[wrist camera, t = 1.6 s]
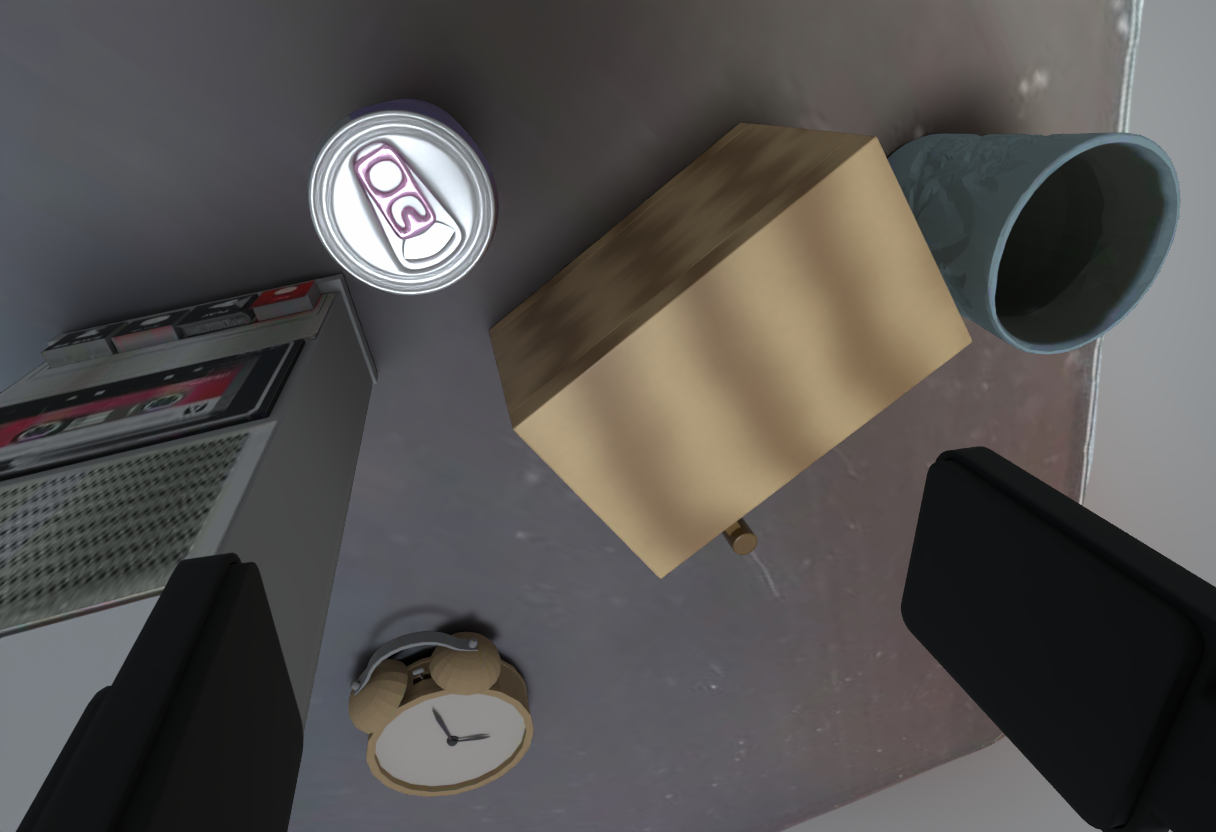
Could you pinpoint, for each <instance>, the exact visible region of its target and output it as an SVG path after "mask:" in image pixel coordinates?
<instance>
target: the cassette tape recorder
mask: <svg viewBox="0 0 1216 832" xmlns="http://www.w3.org/2000/svg"><path fill="white" fill-rule="evenodd" d="M48 344H49V346H50V347H48V348H47V349H45V350H44V351H42V352H41V353H42V355H43V356H44V358H45V360H46V361H45V362H44V363H42V364H41V365H40V366H38V367H37V368H35V369H34V370H32V371H31V372H29V373H28V374H27V375H25V376H24V377H22V378H21V379H19V380H18V381H17V382H15V383H14V384H12V385H11V386H9V387H8V388H7V389H5V390H4V391H2V392H1V393H0V832H16V830H17V828H18V827H19V825H20V823H21V821H22V820H23V818H24V816H25V814H26V813H27V811H28V809H29V807H30V806H31V804H32V802H33V800H34V798H35V797H36V795H37V793H38V791H39V790H40V788H41V786H42V784H43V783H44V781H45V779H46V777H47V776H48V774H49V772H50V770H51V768H52V767H53V765H54V763H55V761H56V760H57V758H58V756H59V754H60V753H61V751H62V749H63V747H64V745H65V744H66V742H67V740H68V738H69V737H70V735H71V733H72V731H73V730H74V728H75V726H76V724H77V723H78V721H79V719H80V717H81V715H82V714H83V712H84V710H85V708H86V707H87V705H88V703H89V702H90V701H91V699H92V698H93V697H94V695H95V694H96V693H97V692H98V691H100V690H101V689H103V688H104V687H106V686H111V685H112V683H113V681H114V680H115V678H116V676H117V674H118V672H119V670H120V669H121V667H122V665H123V663H124V661H125V659H126V657H127V656H128V654H129V652H130V650H131V648H132V646H133V645H134V643H135V641H136V639H137V637H138V635H139V634H140V632H141V630H142V628H143V626H144V624H145V623H146V621H147V619H148V617H149V615H150V613H151V612H152V610H153V608H154V606H155V604H156V602H157V601H158V599H159V597H160V595H161V593H162V591H163V589H164V588H165V586H166V584H167V582H168V580H169V578H170V577H171V575H172V573H173V571H174V569H175V567H176V566H177V565H178V563H179V562H180V561H182V560H184V559H191V558H198V557H205V556H212V555H219V554H226V553H235V554H237V555H238V556H239V558H240V559H241V562H242V563H247V562H254V563H256V565H257V566H258V568H259V571H260V574H261V578H262V581H263V585H264V588H265V592H266V595H267V599H268V603H269V606H270V610H271V613H272V617H273V620H274V624H275V627H276V631H277V634H278V638H279V642H280V645H281V649H282V652H283V656H284V659H285V663H286V666H287V670H288V673H289V677H290V680H291V684H292V688H293V691H294V695H295V698H296V702H297V705H298V709H299V712H300V716H301V720H302V725H303V734H304V729H305V724H306V719H307V713H308V708H309V703H310V698H311V693H312V688H313V683H314V678H315V673H316V668H317V663H318V658H319V653H320V648H321V642H322V637H323V632H324V627H325V622H326V617H327V612H328V607H329V602H330V597H331V592H332V587H333V582H334V577H335V571H336V566H337V561H338V556H339V551H340V546H341V541H342V536H343V531H344V526H345V521H346V516H347V511H348V506H349V500H350V495H351V490H352V485H353V480H354V475H355V470H356V465H357V460H358V455H359V450H360V445H361V440H362V435H363V429H364V424H365V419H366V414H367V409H368V404H369V399H370V394H371V389H372V384H374V383H377V378H378V374H377V371H376V368H375V366H374V363H373V360H372V357H371V354H370V351H369V348H368V345H367V343H366V340H365V337H364V334H363V331H362V328H361V325H360V322H359V320H358V317H357V314H356V311H355V308H354V305H353V302H352V300H351V297H350V294H349V291H348V288H347V285H346V282H345V279H344V277H343V274H339V275H334V276H329V277H325V278H320V279H315V280H311V281H306V282H302V283H297V284H292V285H288V286H283V287H278V288H274V289H269V290H265V291H260V292H255V293H251V294H246V295H241V296H237V297H232V298H227V299H223V300H218V301H214V302H209V303H204V304H200V305H195V306H190V307H186V308H181V309H177V310H172V311H167V312H163V313H158V314H153V315H149V316H144V317H140V318H135V319H130V320H126V321H121V322H116V323H112V324H107V325H103V326H98V327H93V328H89V329H84V330H79V331H75V332H70V333H66V334H61V335H58V336H56V337H55V338H53V339H52V340H50V341H49V342H48Z"/></svg>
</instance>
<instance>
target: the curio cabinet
mask: <svg viewBox="0 0 1216 832" xmlns="http://www.w3.org/2000/svg"><path fill="white" fill-rule="evenodd" d="M489 334H490V338H491V343H492V347H493V351H494V355H495V359H496V363H497V367H498V371H499V375H500V379H501V383H502V387H503V392H504V396H505V400H506V404H507V408H508V412H509V415H510V419H511V423H512V427H513V430H514V431H515V432H516V433H517V434H518V435H519V436H520V437H521V438H522V439H523V440H524V441H525V442H526V443H527V444H528V445H529V447H530V448H531V449H532V450H533V451H534V452H535V453H536V454H537V455H538V456H539V457H540V458H541V459H542V460H543V461H544V462H545V463H546V464H547V465H548V466H549V467H550V468H551V469H552V470H553V471H554V472H555V473H556V474H557V475H558V476H559V477H560V478H561V479H562V480H563V481H564V482H565V483H566V484H567V485H568V486H569V487H570V488H571V489H572V490H573V491H574V492H575V493H576V494H577V495H578V496H579V497H580V498H581V499H582V500H583V501H584V502H585V503H586V504H587V505H588V506H589V507H590V508H591V509H592V510H593V511H594V512H595V513H596V514H597V515H598V516H599V517H600V518H601V519H602V520H603V521H604V522H605V523H606V524H607V525H608V526H609V527H610V528H611V529H612V530H613V531H614V533H615V534H616V535H617V536H618V537H619V538H620V539H621V540H622V541H623V542H624V543H625V544H626V545H627V546H628V547H629V548H630V549H631V550H632V551H633V552H634V553H635V554H636V555H637V556H638V557H639V558H640V559H641V560H642V561H643V562H644V563H645V564H646V565H647V566H648V567H649V568H650V569H651V570H652V571H653V572H654V573H655V574H656V575H657V576H658V577H659V578H660V579H661V578H663V577H664V576H665V575H667V574H668V573H669V572H671V571H672V570H673V569H674V568H676V567H677V566H678V565H680V564H681V563H682V562H684V561H685V560H686V559H688V558H689V557H690V556H692V555H693V554H694V553H695V552H697V551H698V550H699V549H701V548H702V547H703V546H705V545H706V544H707V543H709V542H710V541H711V540H713V539H714V538H715V537H717V536H718V535H719V534H720V533H722V532H723V531H724V530H726V529H727V528H728V527H730V526H731V525H732V524H734V523H735V522H736V521H738V520H739V519H740V518H741V517H743V516H744V515H745V514H747V513H748V512H749V511H751V510H752V509H753V508H755V507H756V506H757V505H759V504H760V503H761V502H763V501H764V500H765V499H766V498H768V497H769V496H770V495H772V494H773V493H774V492H776V491H777V490H778V489H780V488H781V487H782V486H784V485H785V484H786V483H788V482H789V481H790V480H791V479H793V478H794V477H795V476H797V475H798V474H799V473H801V472H802V471H803V470H805V469H806V468H807V467H809V466H810V465H811V464H812V463H814V462H815V461H816V460H818V459H819V458H820V457H822V456H823V455H824V454H826V453H827V452H828V451H830V450H831V449H832V448H834V447H835V446H836V445H837V444H839V443H840V442H841V441H843V440H844V439H845V438H847V437H848V436H849V435H851V434H852V433H853V432H855V431H856V430H857V429H858V428H860V427H861V426H862V425H864V424H865V423H866V422H868V421H869V420H870V419H872V418H873V417H874V416H876V415H877V414H878V413H880V412H881V411H882V410H883V409H885V408H886V407H887V406H889V405H890V404H891V403H893V402H894V401H895V400H897V399H898V398H899V397H901V396H902V395H903V394H905V393H906V392H907V391H908V390H910V389H911V388H912V387H914V386H915V385H916V384H918V383H919V382H920V381H922V380H923V379H924V378H926V377H927V376H928V375H929V374H931V373H932V372H933V371H935V370H936V369H937V368H939V367H940V366H941V365H943V364H944V363H945V362H947V361H948V360H949V359H951V358H952V357H953V356H954V355H956V354H957V353H958V352H960V351H961V350H962V349H964V348H965V347H966V346H968V345H969V344H970V343H972V339H971V337H970V335H969V332H968V330H967V328H966V326H965V324H964V322H963V320H962V318H961V315H960V313H959V311H958V309H957V307H956V305H955V303H954V300H953V298H952V296H951V294H950V292H949V290H948V288H947V286H946V283H945V281H944V279H943V277H942V275H941V273H940V271H939V268H938V266H937V264H936V262H935V260H934V258H933V256H932V253H931V251H930V249H929V247H928V245H927V243H926V241H925V239H924V236H923V234H922V232H921V230H920V228H919V226H918V224H917V221H916V219H915V217H914V215H913V213H912V211H911V209H910V206H909V204H908V202H907V200H906V198H905V196H904V194H903V192H902V189H901V187H900V185H899V183H898V181H897V179H896V177H895V174H894V172H893V170H892V168H891V166H890V164H889V162H888V160H887V157H886V155H885V153H884V151H883V149H882V147H881V145H880V142H879V140H878V138H877V137H876V136H867V135H857V134H856V135H855V134H850V133H840V132H830V131H820V130H810V129H801V128H791V127H781V126H771V125H761V124H748V123H739V124H738V125H737V126H736V127H734V128H733V129H732V130H731V131H729V132H728V133H727V134H726V135H725V136H723V137H722V138H721V139H720V140H719V141H717V142H716V143H715V144H714V145H713V146H711V147H710V148H709V149H708V150H707V151H705V152H704V153H703V154H702V155H700V156H699V157H698V158H697V159H696V160H694V161H693V162H692V163H691V164H690V165H688V166H687V167H686V168H685V169H684V170H682V171H681V172H680V173H679V174H677V175H676V176H675V177H674V178H673V179H671V180H670V181H669V182H668V183H667V184H665V185H664V186H663V187H662V188H661V189H659V190H658V191H657V192H656V193H654V194H653V195H652V196H651V197H650V198H648V199H647V200H646V201H645V202H644V203H642V204H641V205H640V206H639V207H638V208H636V209H635V210H634V211H633V212H631V213H630V214H629V215H628V216H627V217H625V218H624V219H623V220H622V221H621V222H619V223H618V224H617V225H616V226H615V227H613V228H612V229H611V230H610V231H609V232H607V233H606V234H605V235H604V236H602V237H601V238H600V239H599V240H598V241H596V242H595V243H594V244H593V245H592V246H590V247H589V248H588V249H587V250H586V251H584V252H583V253H582V254H581V255H579V256H578V257H577V258H576V259H575V260H573V261H572V262H571V263H570V264H569V265H567V266H566V267H565V268H564V269H563V270H561V271H560V272H559V273H558V274H556V275H555V276H554V277H553V278H552V279H550V280H549V281H548V282H547V283H546V284H544V285H543V286H542V287H541V288H540V289H538V290H537V291H536V292H535V293H534V294H532V295H531V296H530V297H529V298H527V299H526V300H525V301H524V302H523V303H521V304H520V305H519V306H518V307H517V308H515V309H514V310H513V311H512V312H511V313H509V314H508V315H507V316H506V317H504V318H503V319H502V320H501V321H500V322H498V323H497V324H496V325H495V326H494V327H492V328H491V329H490V330H489Z"/></svg>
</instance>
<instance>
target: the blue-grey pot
mask: <svg viewBox="0 0 1216 832" xmlns="http://www.w3.org/2000/svg"><path fill="white" fill-rule="evenodd" d="M887 160H888V162H889V164H890V166H891V168H892V170H893V172H894V174H895V177H896V179H897V181H898V183H899V185H900V187H901V189H902V192H903V194H904V196H905V198H906V200H907V202H908V204H909V206H910V209H911V211H912V213H913V215H914V217H915V219H916V221H917V224H918V226H919V228H920V230H921V232H922V234H923V236H924V239H925V241H926V243H927V245H928V247H929V249H930V251H931V253H932V256H933V258H934V260H935V262H936V264H937V266H938V268H939V271H940V273H941V275H942V277H943V279H944V281H945V283H946V286H947V288H948V290H949V292H950V294H951V296H952V298H953V300H954V303H955V305H956V307H957V309H958V311H959V313H960V314H961V315H962V316H964V317H966V318H968V319H970V320H971V321H973V322H975V323H976V324H978V325H979V326H981V327H983V328H984V329H986V330H987V331H989V332H991V333H992V334H994V335H995V336H997V337H999V338H1000V339H1002V340H1003V341H1005V342H1007V343H1008V344H1010V345H1012V346H1013V347H1015V348H1017V349H1019V350H1022V351H1025V352H1029V353H1035V354H1055V353H1062V352H1067V351H1070V350H1073V349H1076V348H1079V347H1081V346H1083V345H1085V344H1088V343H1090V342H1092V341H1093V340H1095V339H1097V338H1099V337H1101V336H1102V335H1104V334H1105V333H1106V332H1108V331H1109V330H1110V329H1111V328H1113V327H1114V326H1116V325H1117V324H1118V323H1119V322H1120V321H1121V320H1122V319H1123V318H1124V317H1125V316H1126V315H1127V314H1129V313H1130V312H1131V310H1133V309H1134V308H1135V307H1136V305H1137V304H1138V303H1139V301H1140V300H1141V299H1142V297H1143V296H1144V295H1145V293H1146V292H1147V291H1148V289H1149V288H1150V287H1151V285H1152V283H1153V282H1154V280H1155V279H1156V277H1157V275H1158V274H1159V272H1160V269H1161V268H1162V265H1163V263H1164V261H1165V258H1166V256H1167V254H1168V252H1169V250H1170V247H1171V245H1172V242H1173V239H1174V235H1175V231H1176V227H1177V223H1178V219H1179V212H1180V189H1179V181H1178V178H1177V173H1176V171H1175V168H1174V166H1173V164H1172V162H1171V159H1170V158H1169V157H1168V155H1167V154H1166V152H1165V151H1164V150H1163V149H1162V148H1161V147H1160V146H1159V145H1157V144H1156V143H1155V142H1154V141H1152V140H1150V139H1148V138H1146V137H1144V136H1141V135H1137V134H1130V133H1088V134H1052V135H1049V136H1043V135H1027V134H1001V135H998V134H988V135H985V136H979V135H976V134H946V133H945V134H932V135H927V136H924V137H921V138H918V139H916V140H913V141H911V142H909V143H907V144H905V145H903V146H902V147H900V148H899V149H898V150H896V151H895V152H894V153H893V154H892V155H891V156H890V157H889V158H888V159H887Z"/></svg>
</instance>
